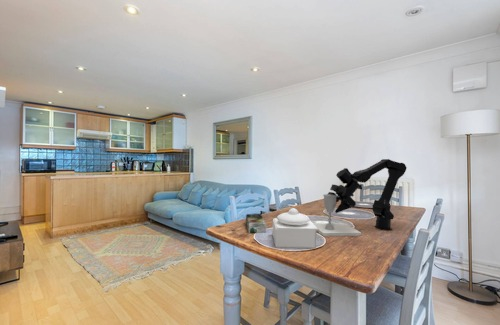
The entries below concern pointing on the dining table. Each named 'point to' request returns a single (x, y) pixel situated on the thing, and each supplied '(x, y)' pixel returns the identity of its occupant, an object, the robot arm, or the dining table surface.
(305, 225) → the butter dish
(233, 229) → the dining table surface
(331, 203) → the chalice
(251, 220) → the juice carton
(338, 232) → the platter
